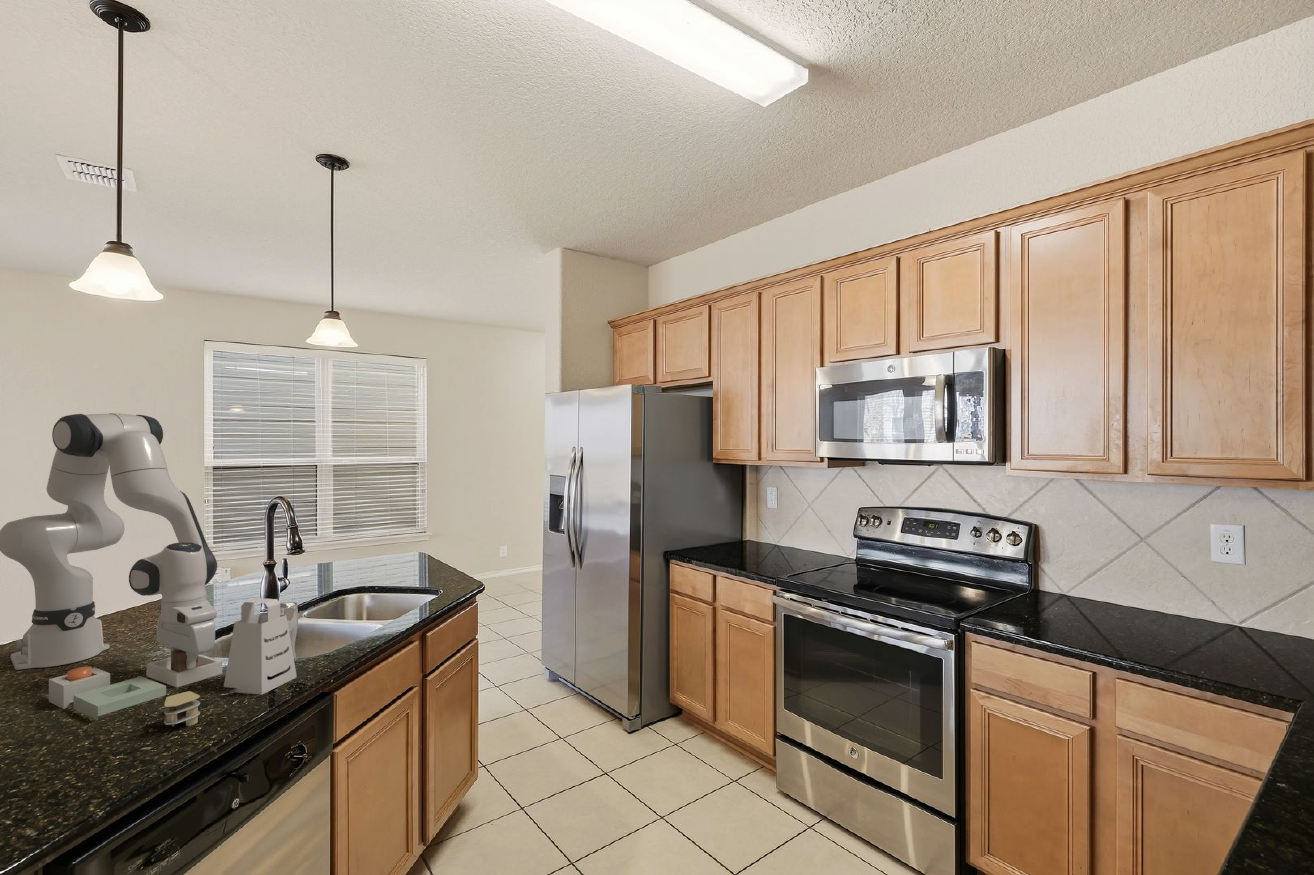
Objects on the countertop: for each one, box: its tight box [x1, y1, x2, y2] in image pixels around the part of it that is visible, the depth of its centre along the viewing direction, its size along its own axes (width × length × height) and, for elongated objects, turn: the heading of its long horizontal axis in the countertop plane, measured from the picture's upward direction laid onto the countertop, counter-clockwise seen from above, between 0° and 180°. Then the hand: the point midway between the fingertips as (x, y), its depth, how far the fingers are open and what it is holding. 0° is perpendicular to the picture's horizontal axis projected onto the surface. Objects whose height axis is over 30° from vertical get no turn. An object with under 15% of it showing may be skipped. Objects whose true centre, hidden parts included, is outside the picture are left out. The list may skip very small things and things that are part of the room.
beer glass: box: [266, 601, 299, 660], centre depth 160 cm, size 7×7×15 cm
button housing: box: [48, 667, 111, 710], centre depth 138 cm, size 8×8×5 cm
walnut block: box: [170, 649, 198, 673], centre depth 149 cm, size 4×4×6 cm
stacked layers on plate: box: [163, 690, 201, 728], centre depth 125 cm, size 10×9×6 cm
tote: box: [146, 654, 223, 688], centre depth 149 cm, size 15×10×4 cm, turn 62°
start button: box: [67, 665, 93, 682], centre depth 138 cm, size 4×4×3 cm
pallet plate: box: [73, 675, 167, 722], centre depth 135 cm, size 12×12×3 cm
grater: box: [223, 597, 298, 696], centre depth 146 cm, size 10×10×20 cm
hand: (184, 666), depth 149 cm, fingers closed on walnut block, 4 cm apart
